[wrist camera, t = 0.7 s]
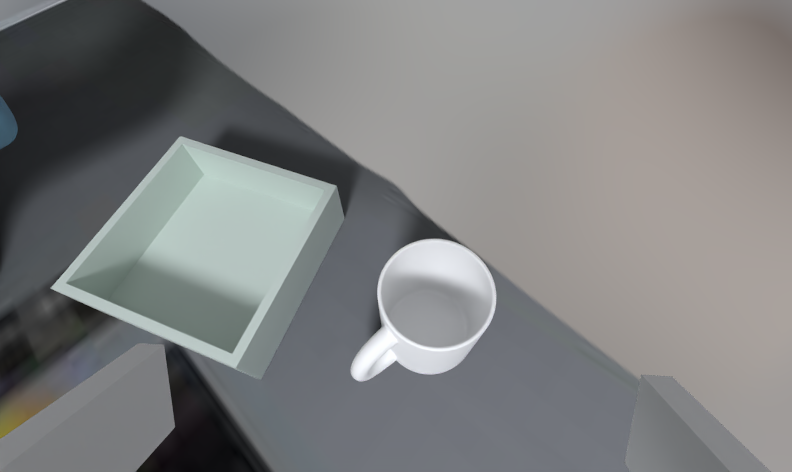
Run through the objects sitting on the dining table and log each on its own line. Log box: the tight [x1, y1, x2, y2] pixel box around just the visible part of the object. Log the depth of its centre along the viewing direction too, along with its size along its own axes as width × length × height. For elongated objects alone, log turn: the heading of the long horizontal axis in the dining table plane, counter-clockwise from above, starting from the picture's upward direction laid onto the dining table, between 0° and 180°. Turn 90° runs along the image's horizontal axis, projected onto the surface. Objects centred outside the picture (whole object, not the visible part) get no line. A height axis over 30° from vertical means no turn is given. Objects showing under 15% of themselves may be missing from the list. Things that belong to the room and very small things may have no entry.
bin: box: [51, 136, 345, 380], centre depth 37 cm, size 18×18×6 cm
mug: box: [351, 239, 496, 381], centre depth 31 cm, size 12×8×10 cm
